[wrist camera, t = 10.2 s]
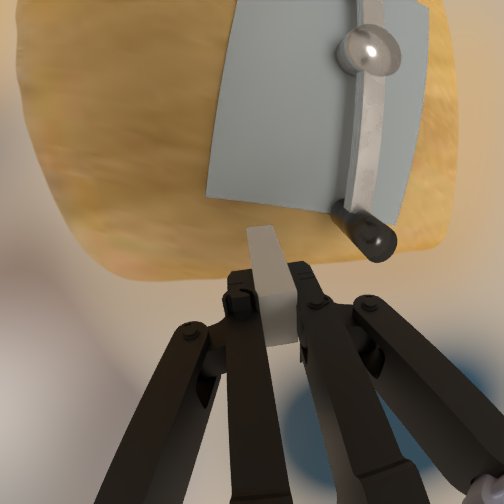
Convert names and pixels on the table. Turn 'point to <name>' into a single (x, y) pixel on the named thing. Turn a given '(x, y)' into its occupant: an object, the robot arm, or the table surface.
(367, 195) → the lever
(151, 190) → the table surface
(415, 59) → the base
